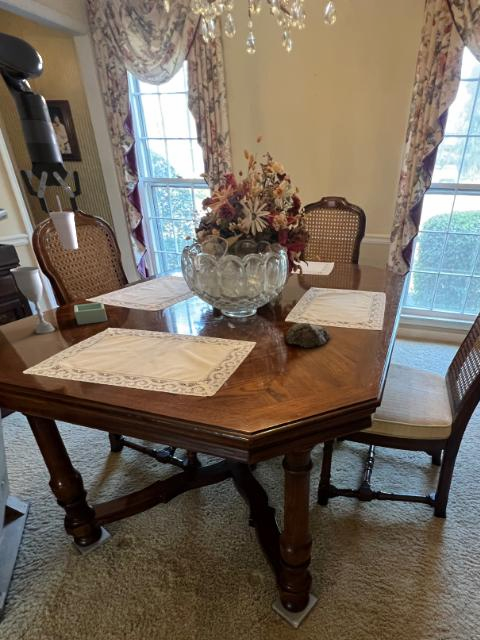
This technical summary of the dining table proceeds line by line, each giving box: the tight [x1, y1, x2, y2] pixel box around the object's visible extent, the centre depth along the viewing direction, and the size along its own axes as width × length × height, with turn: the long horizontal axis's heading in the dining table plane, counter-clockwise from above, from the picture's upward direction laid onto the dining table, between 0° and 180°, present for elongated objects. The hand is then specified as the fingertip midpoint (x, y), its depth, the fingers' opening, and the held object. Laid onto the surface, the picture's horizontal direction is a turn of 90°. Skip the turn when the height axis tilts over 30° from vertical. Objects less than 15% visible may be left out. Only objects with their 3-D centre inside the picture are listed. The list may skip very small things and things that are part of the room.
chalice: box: [9, 266, 56, 334], centre depth 111 cm, size 7×7×18 cm
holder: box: [73, 301, 108, 326], centre depth 124 cm, size 9×9×4 cm
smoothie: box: [48, 195, 79, 250], centre depth 110 cm, size 6×6×14 cm
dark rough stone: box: [285, 322, 330, 349], centre depth 109 cm, size 13×12×5 cm
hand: (61, 212), depth 108 cm, fingers closed on smoothie, 6 cm apart
